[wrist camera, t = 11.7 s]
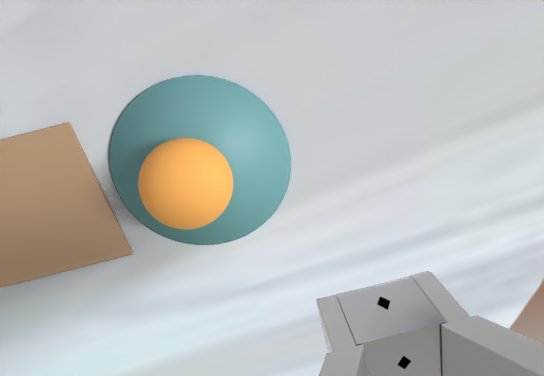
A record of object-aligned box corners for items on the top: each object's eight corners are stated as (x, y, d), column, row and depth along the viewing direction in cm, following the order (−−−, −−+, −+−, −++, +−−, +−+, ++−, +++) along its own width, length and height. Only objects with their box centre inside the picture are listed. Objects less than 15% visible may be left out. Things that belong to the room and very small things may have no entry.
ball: (111, 148, 17) (219, 129, 17) (144, 144, 22) (226, 130, 22) (137, 250, 18) (239, 232, 18) (163, 222, 23) (241, 208, 23)
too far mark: (-87, 161, 21) (-90, 162, 20) (69, 122, 21) (67, 123, 20) (2, 285, 25) (0, 287, 24) (132, 252, 25) (131, 254, 24)
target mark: (77, 102, 20) (76, 102, 20) (268, 53, 20) (268, 54, 20) (150, 260, 25) (150, 261, 25) (305, 221, 25) (305, 222, 25)
